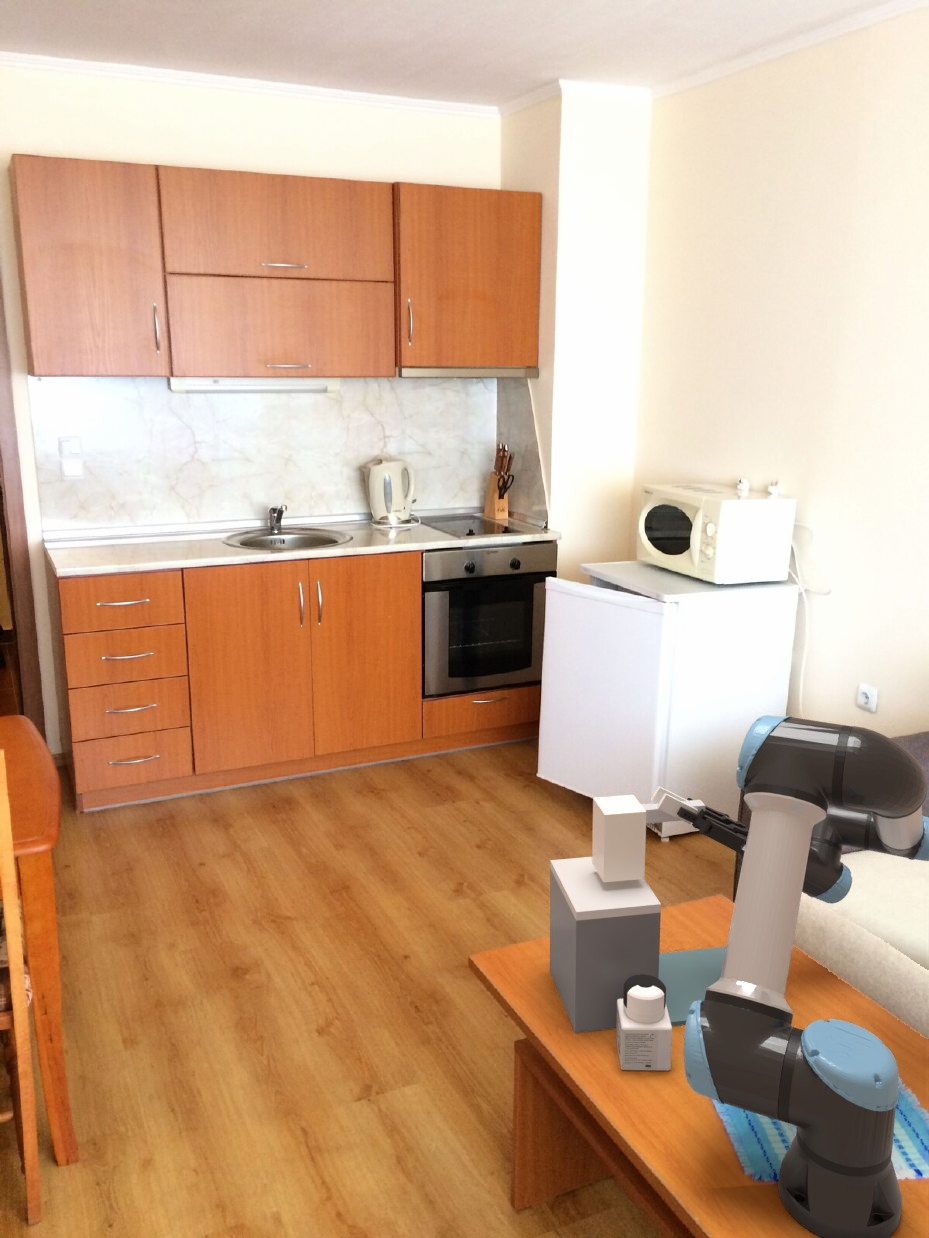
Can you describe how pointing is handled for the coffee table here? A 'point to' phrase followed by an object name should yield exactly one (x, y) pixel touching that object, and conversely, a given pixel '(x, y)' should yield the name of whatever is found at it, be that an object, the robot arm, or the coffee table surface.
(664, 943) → the coffee table surface
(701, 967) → the mat
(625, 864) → the tall white block
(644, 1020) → the container
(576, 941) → the stand
